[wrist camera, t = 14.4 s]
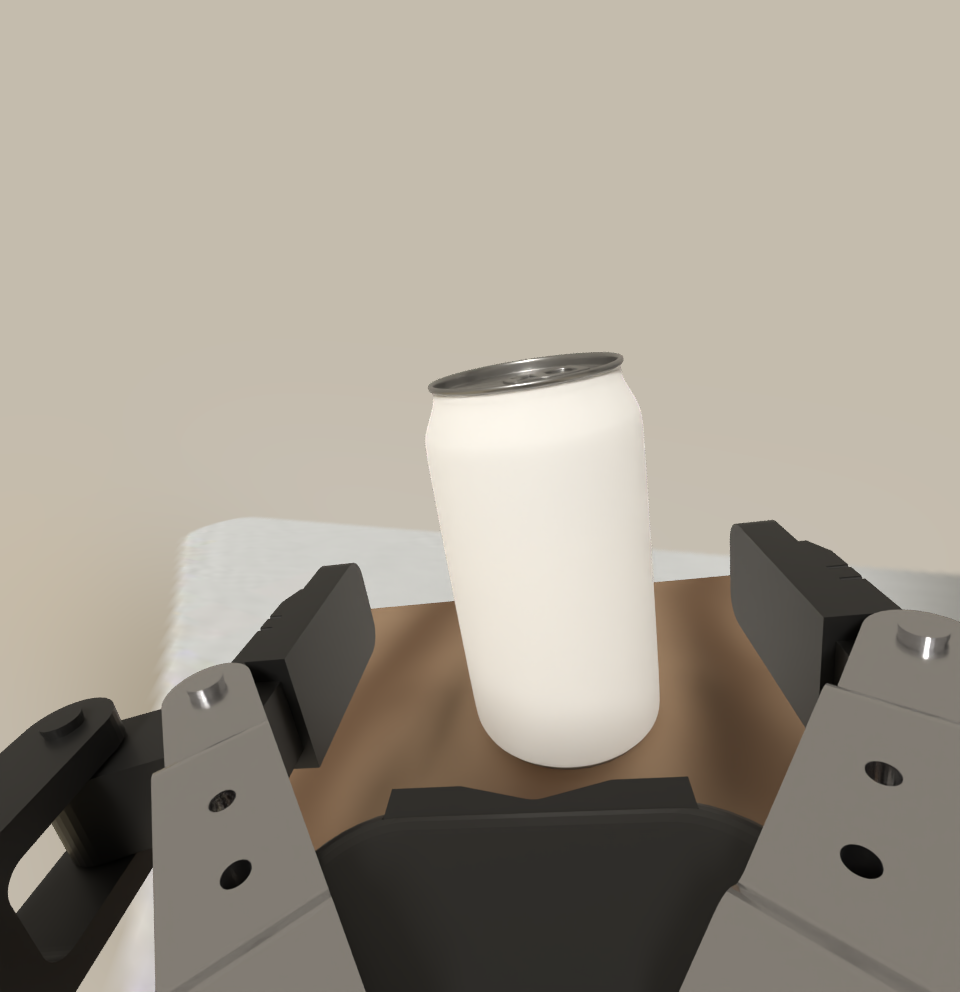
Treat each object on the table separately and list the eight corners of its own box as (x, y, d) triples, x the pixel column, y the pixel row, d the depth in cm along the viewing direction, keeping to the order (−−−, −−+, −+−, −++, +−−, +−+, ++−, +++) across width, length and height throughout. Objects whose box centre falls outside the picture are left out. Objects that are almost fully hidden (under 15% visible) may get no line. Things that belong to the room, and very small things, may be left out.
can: (461, 677, 22) (400, 381, 18) (606, 633, 23) (578, 347, 19) (509, 807, 16) (434, 404, 12) (702, 738, 17) (690, 352, 13)
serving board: (765, 608, 26) (765, 572, 26) (1074, 1012, 11) (1094, 949, 11) (374, 641, 29) (365, 609, 28) (206, 1002, 14) (181, 952, 13)
